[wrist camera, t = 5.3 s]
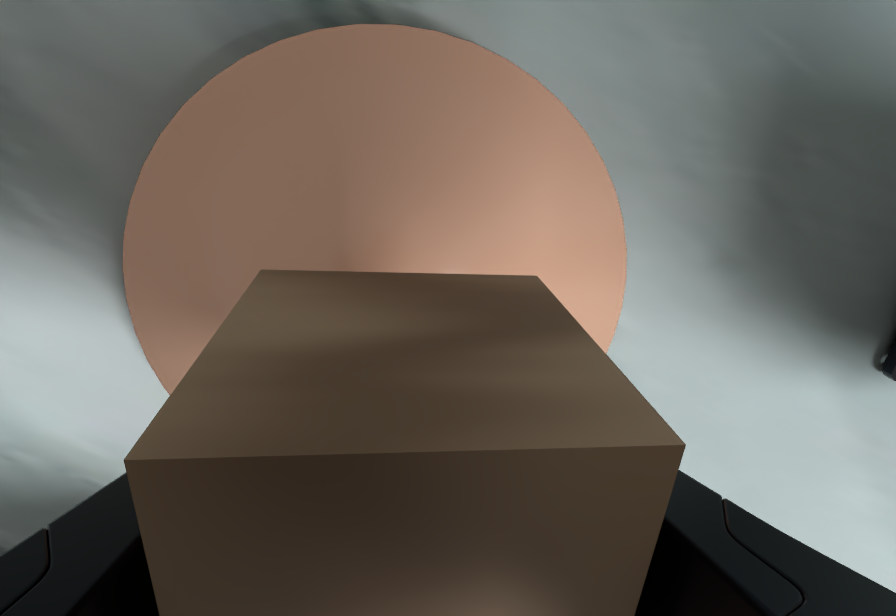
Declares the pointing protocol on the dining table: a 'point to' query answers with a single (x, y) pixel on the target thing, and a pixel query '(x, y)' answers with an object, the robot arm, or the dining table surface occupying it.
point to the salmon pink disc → (366, 183)
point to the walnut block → (401, 456)
